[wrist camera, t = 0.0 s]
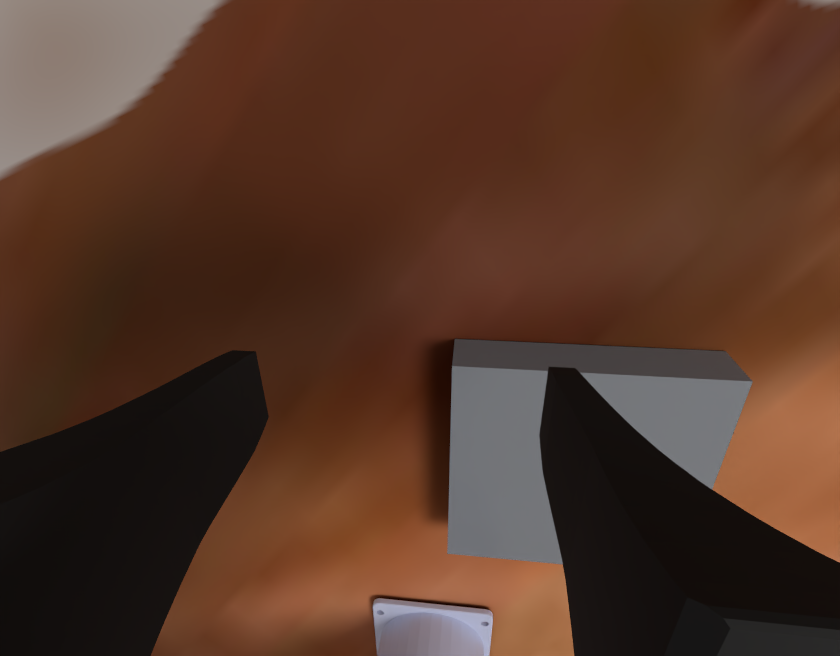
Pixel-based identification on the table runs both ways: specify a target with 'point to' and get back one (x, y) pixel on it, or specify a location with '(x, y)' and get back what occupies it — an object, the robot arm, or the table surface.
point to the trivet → (521, 419)
